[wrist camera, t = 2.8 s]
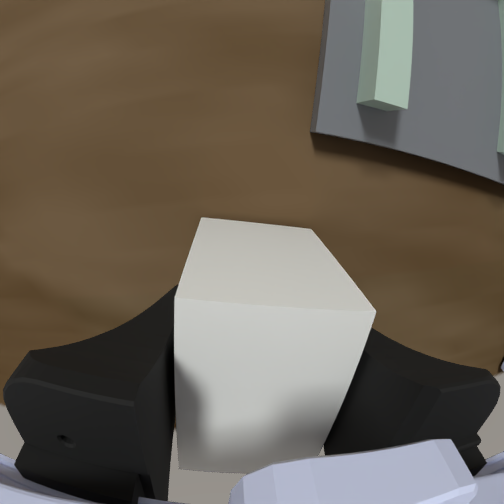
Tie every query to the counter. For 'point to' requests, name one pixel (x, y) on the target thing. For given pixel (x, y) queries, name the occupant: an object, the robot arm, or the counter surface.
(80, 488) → the robot arm
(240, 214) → the counter surface
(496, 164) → the frame
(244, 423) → the block
